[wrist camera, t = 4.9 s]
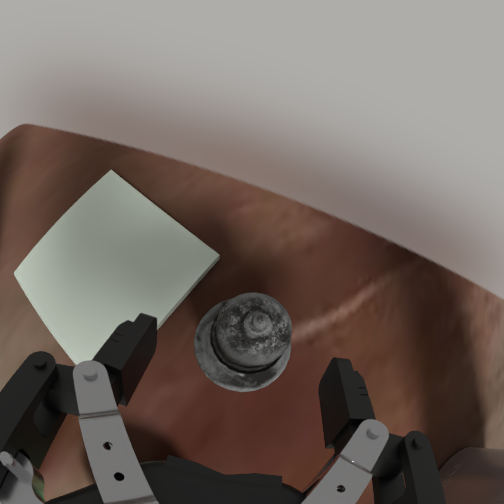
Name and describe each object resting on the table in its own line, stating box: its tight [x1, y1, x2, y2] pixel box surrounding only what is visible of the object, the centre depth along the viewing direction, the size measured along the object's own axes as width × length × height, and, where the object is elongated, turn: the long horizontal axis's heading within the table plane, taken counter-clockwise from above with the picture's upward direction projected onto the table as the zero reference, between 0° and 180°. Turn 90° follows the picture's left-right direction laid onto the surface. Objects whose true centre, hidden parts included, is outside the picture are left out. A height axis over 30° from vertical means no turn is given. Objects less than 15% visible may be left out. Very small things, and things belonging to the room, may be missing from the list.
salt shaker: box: [194, 292, 292, 392], centre depth 14 cm, size 6×6×12 cm
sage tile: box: [14, 170, 220, 365], centre depth 20 cm, size 14×14×1 cm
